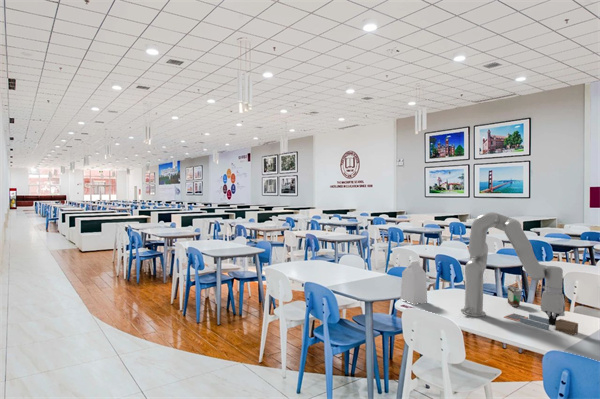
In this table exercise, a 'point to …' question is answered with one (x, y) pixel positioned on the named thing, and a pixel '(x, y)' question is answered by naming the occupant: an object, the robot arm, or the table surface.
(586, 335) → the table surface
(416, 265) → the milk
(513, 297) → the food container
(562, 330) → the walnut block
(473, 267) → the robot arm
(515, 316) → the pad
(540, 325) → the channel
